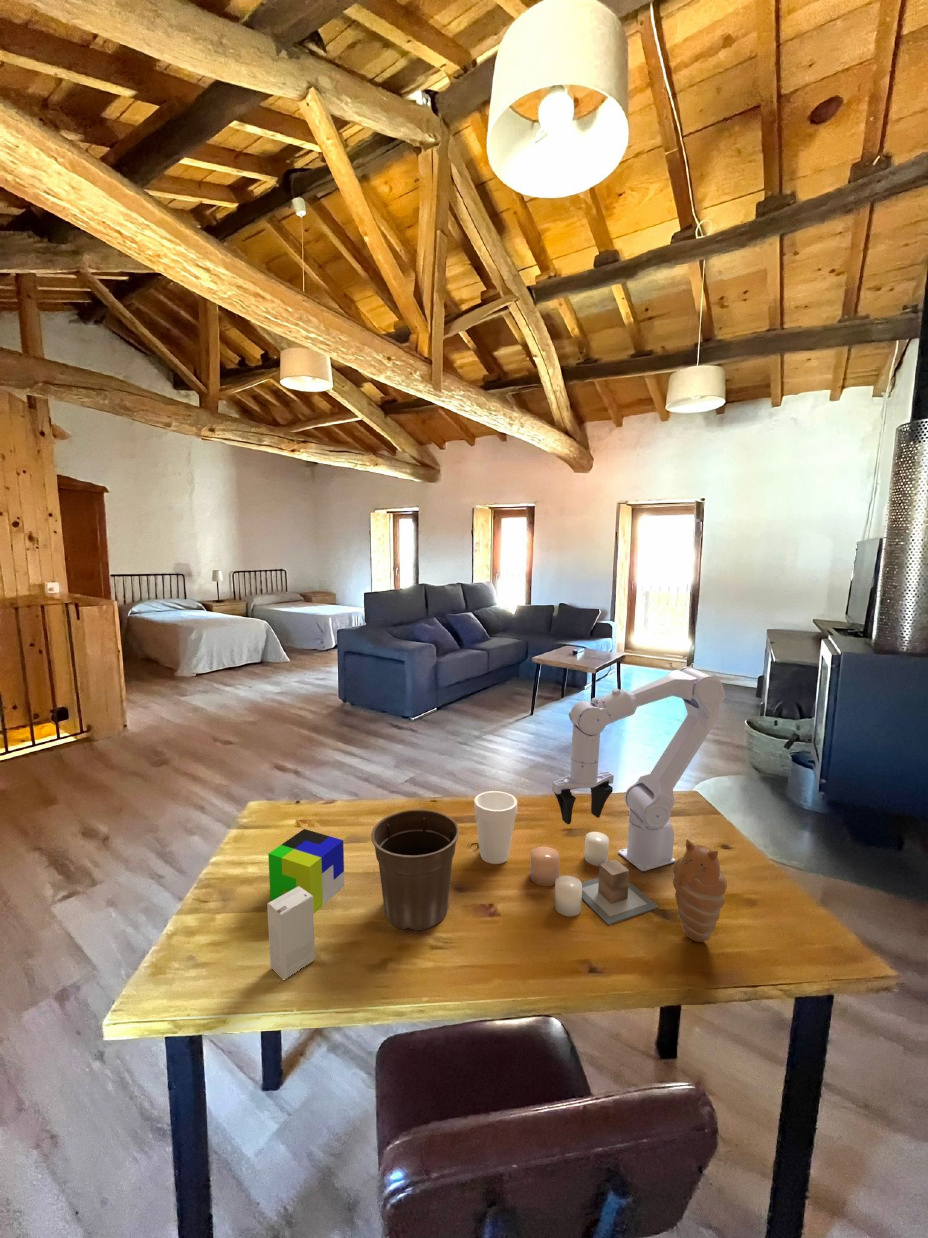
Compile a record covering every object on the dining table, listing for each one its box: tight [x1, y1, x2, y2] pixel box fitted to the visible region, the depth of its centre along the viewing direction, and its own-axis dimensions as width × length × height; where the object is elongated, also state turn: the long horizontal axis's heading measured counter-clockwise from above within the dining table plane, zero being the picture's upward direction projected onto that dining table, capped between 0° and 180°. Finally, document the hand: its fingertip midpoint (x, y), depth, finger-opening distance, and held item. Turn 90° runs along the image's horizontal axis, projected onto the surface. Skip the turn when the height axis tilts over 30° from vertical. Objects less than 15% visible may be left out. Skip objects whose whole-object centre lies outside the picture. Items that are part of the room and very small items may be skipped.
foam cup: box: [473, 790, 518, 865], centre depth 120 cm, size 10×9×13 cm
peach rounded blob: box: [529, 845, 561, 887], centre depth 112 cm, size 6×6×5 cm
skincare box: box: [266, 886, 316, 980], centre depth 88 cm, size 6×4×12 cm
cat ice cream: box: [672, 839, 728, 943], centre depth 94 cm, size 9×8×18 cm
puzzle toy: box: [267, 828, 345, 915], centre depth 106 cm, size 10×10×10 cm
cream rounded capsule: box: [554, 875, 583, 917], centre depth 103 cm, size 5×5×5 cm
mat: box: [581, 876, 660, 926], centre depth 107 cm, size 12×12×1 cm
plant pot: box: [370, 808, 460, 932], centre depth 101 cm, size 16×16×16 cm
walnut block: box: [598, 859, 630, 904], centre depth 106 cm, size 4×4×6 cm
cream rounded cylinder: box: [583, 831, 610, 867], centre depth 119 cm, size 5×5×5 cm
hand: (581, 818), depth 116 cm, fingers open, 7 cm apart
